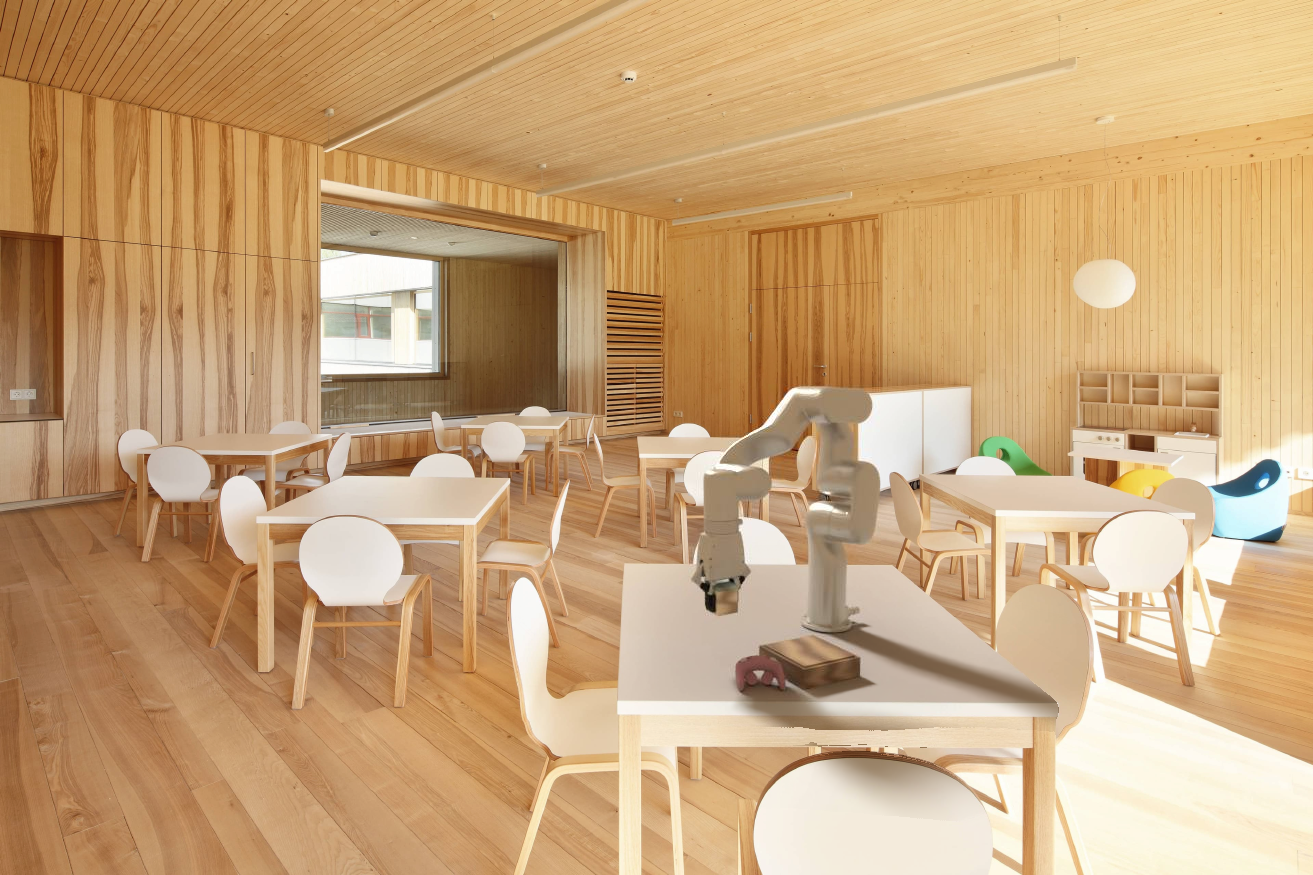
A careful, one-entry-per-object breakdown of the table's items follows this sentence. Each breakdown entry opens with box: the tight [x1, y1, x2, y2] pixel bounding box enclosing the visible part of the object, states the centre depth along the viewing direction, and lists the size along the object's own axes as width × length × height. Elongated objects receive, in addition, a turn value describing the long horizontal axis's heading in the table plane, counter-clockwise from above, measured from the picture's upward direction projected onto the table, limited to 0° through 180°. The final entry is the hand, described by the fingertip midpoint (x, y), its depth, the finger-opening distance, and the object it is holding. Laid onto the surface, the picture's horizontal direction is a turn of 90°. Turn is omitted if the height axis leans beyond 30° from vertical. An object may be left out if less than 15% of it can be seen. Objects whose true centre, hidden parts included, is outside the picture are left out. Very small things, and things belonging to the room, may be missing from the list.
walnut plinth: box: [758, 634, 862, 690], centre depth 154 cm, size 15×15×4 cm
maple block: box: [705, 579, 739, 617], centre depth 157 cm, size 5×5×6 cm
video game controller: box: [734, 654, 786, 692], centre depth 145 cm, size 10×5×7 cm, turn 93°
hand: (721, 607), depth 157 cm, fingers closed on maple block, 5 cm apart
